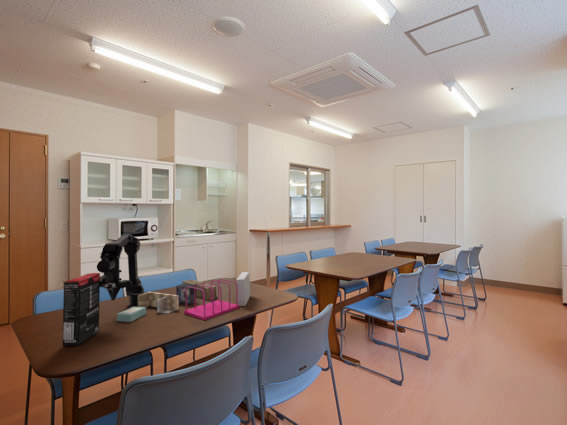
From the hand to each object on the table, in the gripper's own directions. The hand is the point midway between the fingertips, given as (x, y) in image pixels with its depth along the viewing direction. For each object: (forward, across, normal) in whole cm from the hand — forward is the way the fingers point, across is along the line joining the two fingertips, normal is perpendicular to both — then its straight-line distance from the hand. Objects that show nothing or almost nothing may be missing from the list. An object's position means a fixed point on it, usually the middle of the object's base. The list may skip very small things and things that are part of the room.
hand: (113, 300), depth 149 cm
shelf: (+12, +3, +26) cm, 29 cm away
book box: (+12, 0, +11) cm, 17 cm away
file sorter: (+12, +33, +36) cm, 50 cm away
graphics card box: (+12, +2, -16) cm, 21 cm away
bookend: (+12, +10, +25) cm, 30 cm away
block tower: (+12, +6, +60) cm, 61 cm away
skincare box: (+12, +40, +58) cm, 72 cm away
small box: (+12, +9, +42) cm, 45 cm away
